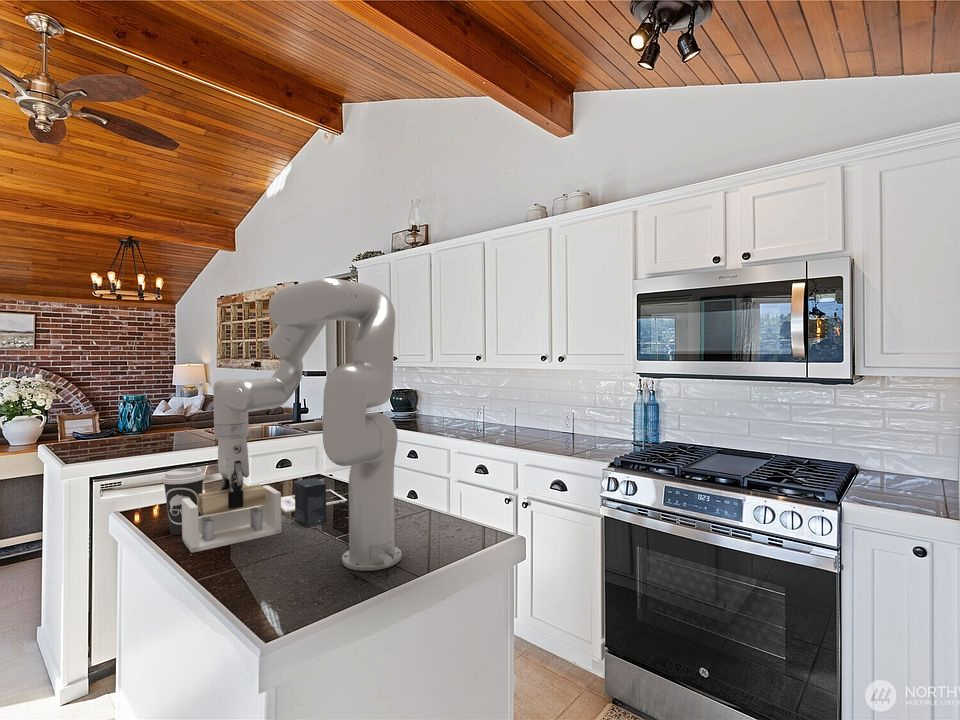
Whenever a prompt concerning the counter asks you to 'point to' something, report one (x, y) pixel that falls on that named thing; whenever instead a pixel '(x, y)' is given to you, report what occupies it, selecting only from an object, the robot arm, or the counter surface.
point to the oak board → (219, 500)
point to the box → (310, 502)
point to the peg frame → (230, 523)
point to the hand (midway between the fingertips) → (232, 504)
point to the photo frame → (289, 503)
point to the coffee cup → (181, 493)
